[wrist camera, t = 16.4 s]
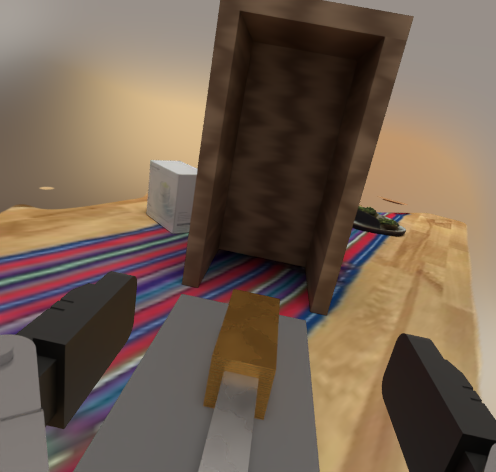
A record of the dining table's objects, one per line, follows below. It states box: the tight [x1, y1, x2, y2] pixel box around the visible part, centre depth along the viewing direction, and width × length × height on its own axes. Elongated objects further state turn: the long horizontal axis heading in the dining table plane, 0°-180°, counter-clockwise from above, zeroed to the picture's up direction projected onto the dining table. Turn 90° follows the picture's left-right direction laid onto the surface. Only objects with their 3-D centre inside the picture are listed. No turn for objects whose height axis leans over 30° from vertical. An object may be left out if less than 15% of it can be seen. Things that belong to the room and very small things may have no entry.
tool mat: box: [73, 294, 320, 472], centre depth 27 cm, size 14×26×1 cm, turn 174°
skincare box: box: [147, 160, 197, 234], centre depth 63 cm, size 10×6×10 cm, turn 39°
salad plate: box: [352, 205, 406, 236], centre depth 93 cm, size 19×18×5 cm
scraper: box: [198, 289, 280, 472], centre depth 24 cm, size 22×4×4 cm, turn 174°
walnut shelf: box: [182, 0, 413, 315], centre depth 46 cm, size 18×16×32 cm
